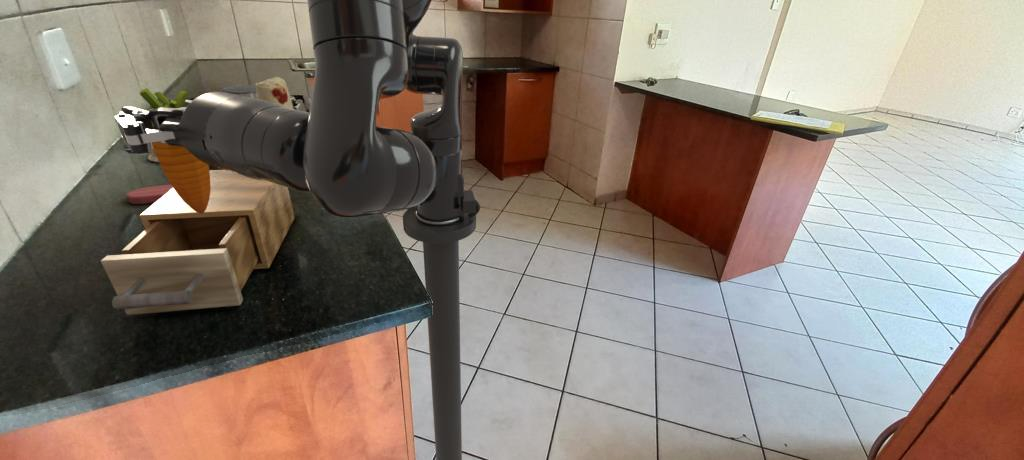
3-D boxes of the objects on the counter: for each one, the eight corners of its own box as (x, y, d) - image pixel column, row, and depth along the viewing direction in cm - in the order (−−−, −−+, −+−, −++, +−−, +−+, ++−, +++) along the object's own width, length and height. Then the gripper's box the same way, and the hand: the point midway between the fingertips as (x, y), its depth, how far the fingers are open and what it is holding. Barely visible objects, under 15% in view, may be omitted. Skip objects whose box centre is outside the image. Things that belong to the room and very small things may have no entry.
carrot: (230, 203, 55) (194, 83, 48) (218, 220, 51) (176, 91, 44) (186, 206, 54) (143, 83, 47) (170, 223, 50) (119, 91, 43)
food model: (303, 174, 96) (285, 81, 86) (270, 176, 93) (248, 82, 84) (306, 160, 104) (289, 74, 94) (275, 162, 101) (255, 74, 92)
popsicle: (219, 187, 83) (122, 199, 77) (222, 195, 84) (126, 206, 78) (222, 178, 87) (130, 188, 81) (224, 185, 88) (133, 195, 82)
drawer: (226, 331, 50) (206, 276, 46) (101, 344, 47) (70, 286, 43) (273, 244, 67) (262, 199, 63) (184, 249, 65) (167, 203, 61)
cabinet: (269, 268, 63) (253, 210, 58) (163, 275, 60) (138, 215, 55) (294, 218, 77) (283, 168, 72) (210, 222, 74) (193, 170, 70)
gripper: (305, 87, 45) (210, 70, 52) (150, 111, 34) (56, 85, 41) (317, 155, 49) (227, 131, 55) (181, 197, 37) (90, 160, 44)
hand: (155, 112), depth 48 cm, fingers closed on carrot, 4 cm apart
